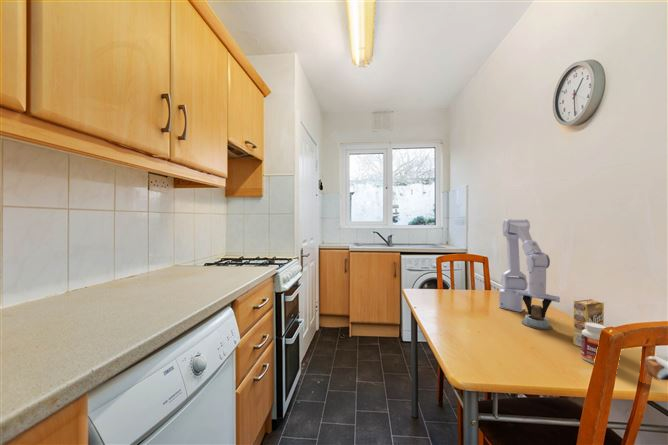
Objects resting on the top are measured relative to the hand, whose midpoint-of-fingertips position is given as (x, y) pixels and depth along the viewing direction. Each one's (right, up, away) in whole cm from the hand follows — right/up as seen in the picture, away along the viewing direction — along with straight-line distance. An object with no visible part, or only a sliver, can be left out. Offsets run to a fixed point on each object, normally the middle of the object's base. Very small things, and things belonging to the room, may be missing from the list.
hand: (536, 315), depth 111 cm
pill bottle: (-3, -4, -28) cm, 29 cm away
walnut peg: (0, -2, 0) cm, 2 cm away
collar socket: (0, -4, 0) cm, 4 cm away
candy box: (+5, -4, -18) cm, 19 cm away
